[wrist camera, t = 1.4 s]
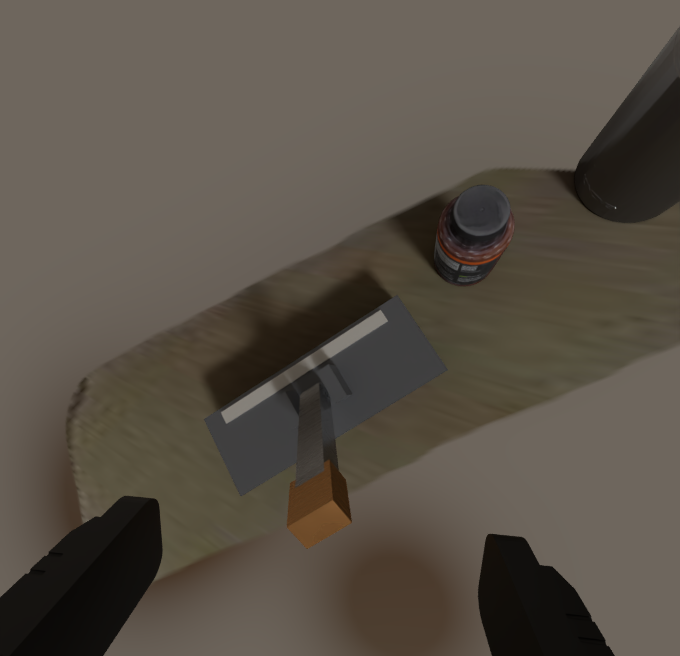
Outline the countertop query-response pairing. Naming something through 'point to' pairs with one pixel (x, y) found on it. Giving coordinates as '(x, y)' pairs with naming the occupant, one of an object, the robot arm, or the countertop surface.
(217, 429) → the block
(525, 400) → the countertop surface
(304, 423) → the lever
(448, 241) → the supplement bottle
